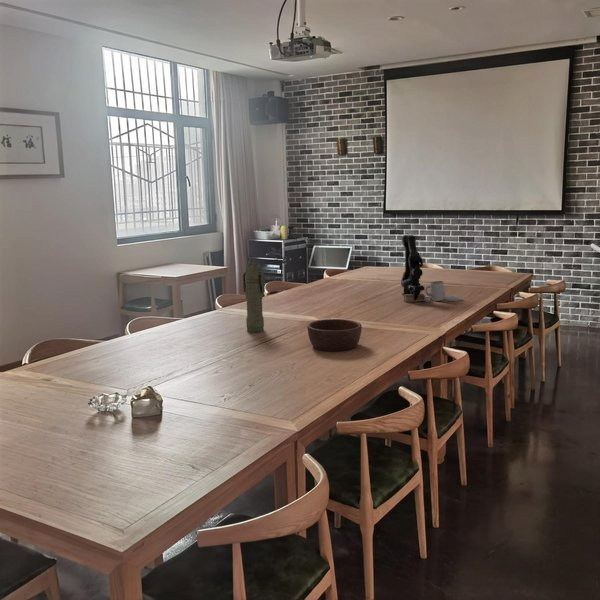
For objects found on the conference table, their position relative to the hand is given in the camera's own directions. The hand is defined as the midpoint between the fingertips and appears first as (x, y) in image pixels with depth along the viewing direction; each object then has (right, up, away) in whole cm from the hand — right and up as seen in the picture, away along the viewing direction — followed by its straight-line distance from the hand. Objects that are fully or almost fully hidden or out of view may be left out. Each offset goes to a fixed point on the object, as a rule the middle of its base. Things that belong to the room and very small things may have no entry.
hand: (414, 299), depth 389 cm
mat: (+22, 0, +4) cm, 23 cm away
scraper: (+1, -1, 0) cm, 2 cm away
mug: (+14, 0, +3) cm, 15 cm away
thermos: (-95, -16, -69) cm, 119 cm away
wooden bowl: (-56, -22, -102) cm, 119 cm away
